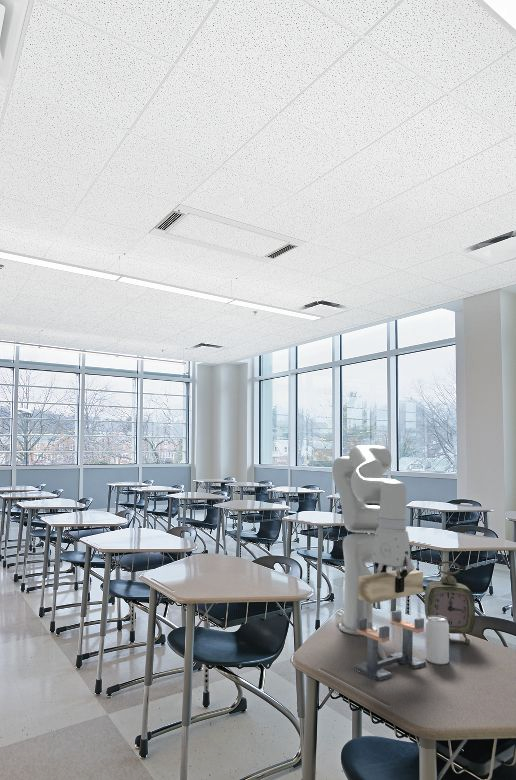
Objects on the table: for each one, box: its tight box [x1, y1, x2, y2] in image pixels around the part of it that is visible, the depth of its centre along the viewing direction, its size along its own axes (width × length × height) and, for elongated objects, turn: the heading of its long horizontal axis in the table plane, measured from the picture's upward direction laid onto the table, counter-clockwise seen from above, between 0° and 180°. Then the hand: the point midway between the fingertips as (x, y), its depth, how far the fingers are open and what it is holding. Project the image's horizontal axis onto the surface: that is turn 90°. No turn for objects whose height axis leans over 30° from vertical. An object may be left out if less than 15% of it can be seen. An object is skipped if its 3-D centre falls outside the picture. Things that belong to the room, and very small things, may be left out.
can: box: [425, 615, 450, 666], centre depth 157 cm, size 6×6×12 cm
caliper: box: [368, 621, 389, 660], centre depth 161 cm, size 20×1×6 cm, turn 4°
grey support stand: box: [353, 609, 427, 682], centre depth 150 cm, size 9×20×13 cm, turn 127°
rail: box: [358, 569, 424, 604], centre depth 152 cm, size 5×22×6 cm, turn 127°
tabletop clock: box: [423, 560, 476, 645], centre depth 176 cm, size 14×9×25 cm, turn 82°
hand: (391, 589), depth 152 cm, fingers closed on rail, 5 cm apart
